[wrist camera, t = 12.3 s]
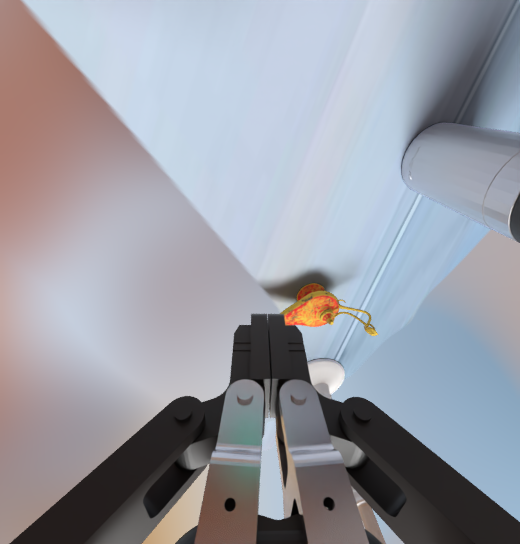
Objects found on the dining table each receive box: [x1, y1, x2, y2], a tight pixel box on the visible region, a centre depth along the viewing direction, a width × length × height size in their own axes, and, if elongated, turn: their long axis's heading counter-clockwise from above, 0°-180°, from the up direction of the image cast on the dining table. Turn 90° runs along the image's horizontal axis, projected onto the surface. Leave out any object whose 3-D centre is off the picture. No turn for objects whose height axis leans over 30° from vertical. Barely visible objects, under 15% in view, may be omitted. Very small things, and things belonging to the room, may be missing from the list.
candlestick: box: [307, 359, 386, 544], centre depth 50 cm, size 13×13×30 cm
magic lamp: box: [280, 283, 378, 336], centre depth 45 cm, size 7×18×11 cm, turn 94°
